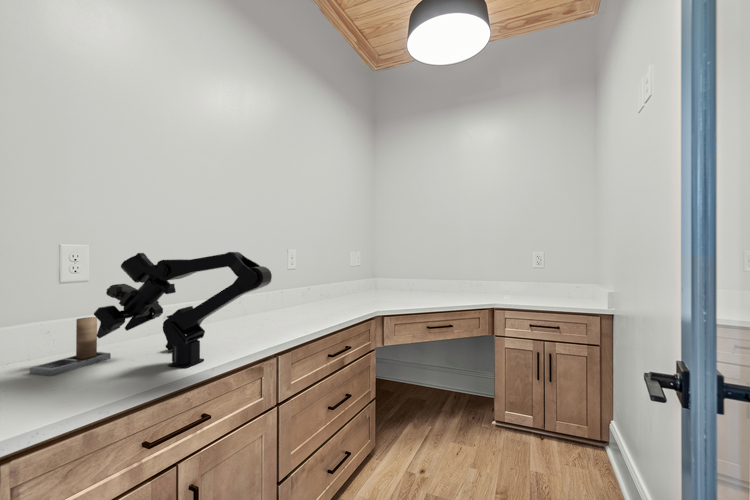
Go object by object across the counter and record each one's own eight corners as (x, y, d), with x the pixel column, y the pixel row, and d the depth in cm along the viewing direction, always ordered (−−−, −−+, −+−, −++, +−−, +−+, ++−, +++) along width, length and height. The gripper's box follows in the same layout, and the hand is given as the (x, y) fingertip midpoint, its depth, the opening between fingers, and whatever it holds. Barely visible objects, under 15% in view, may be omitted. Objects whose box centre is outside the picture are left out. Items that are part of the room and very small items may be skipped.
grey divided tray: (110, 358, 100) (110, 353, 100) (50, 375, 86) (50, 370, 86) (91, 356, 102) (91, 351, 102) (29, 373, 88) (29, 367, 88)
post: (99, 359, 98) (100, 317, 99) (80, 363, 94) (81, 320, 95) (91, 357, 100) (92, 316, 101) (72, 361, 96) (73, 319, 97)
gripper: (153, 272, 106) (121, 307, 107) (100, 276, 87) (61, 319, 88) (177, 297, 105) (144, 333, 106) (129, 307, 86) (89, 350, 87)
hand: (112, 333), depth 97 cm, fingers open, 9 cm apart
